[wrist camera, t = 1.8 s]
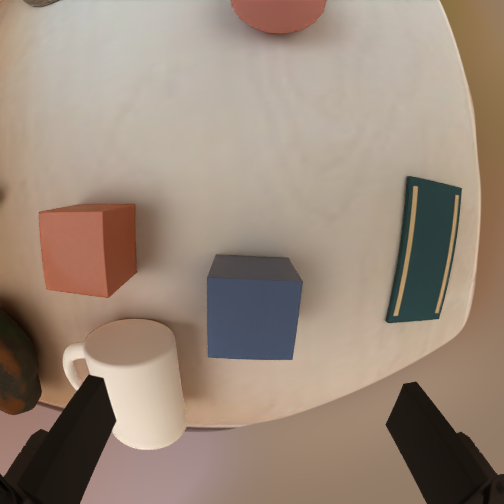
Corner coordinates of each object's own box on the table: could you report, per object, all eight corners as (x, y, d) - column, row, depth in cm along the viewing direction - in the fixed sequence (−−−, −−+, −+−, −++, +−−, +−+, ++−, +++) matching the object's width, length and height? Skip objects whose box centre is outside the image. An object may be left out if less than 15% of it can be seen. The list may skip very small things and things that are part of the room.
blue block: (215, 254, 23) (207, 277, 18) (288, 257, 24) (302, 281, 18) (214, 320, 25) (207, 357, 19) (282, 322, 25) (292, 359, 19)
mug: (183, 320, 25) (162, 373, 17) (192, 400, 27) (180, 456, 19) (73, 311, 24) (30, 348, 17) (94, 386, 27) (66, 431, 19)
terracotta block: (77, 204, 22) (38, 211, 16) (135, 203, 22) (103, 210, 16) (81, 268, 23) (46, 289, 18) (137, 272, 24) (108, 298, 18)
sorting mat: (406, 176, 22) (410, 176, 22) (458, 187, 23) (462, 188, 22) (385, 320, 25) (388, 323, 25) (436, 317, 26) (439, 319, 25)
